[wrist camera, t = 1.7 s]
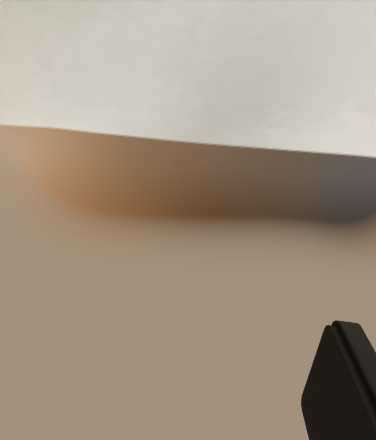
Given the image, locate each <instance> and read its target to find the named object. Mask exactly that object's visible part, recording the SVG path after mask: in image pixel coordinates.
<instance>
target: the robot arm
mask: <svg viewBox="0 0 376 440" xmlns="http://www.w3.org/2000/svg"><path fill="white" fill-rule="evenodd" d="M301 407H302V412H303V417H304V421H305V425H306V429H307V433H308V437H309V440H376V352H375V350H374V349H373V347H372V345H371V343H370V341H369V340H368V338H367V336H366V334H365V333H364V331H363V329H362V327H361V326H360V325H359V324H358V323H351V322H344V321H334V322H333V323H332V325H331V326H330V325H327V326H326V327H325V329H324V331H323V334H322V337H321V340H320V343H319V346H318V349H317V352H316V355H315V358H314V361H313V364H312V367H311V370H310V373H309V376H308V379H307V382H306V385H305V388H304V391H303V394H302V399H301Z"/></svg>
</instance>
